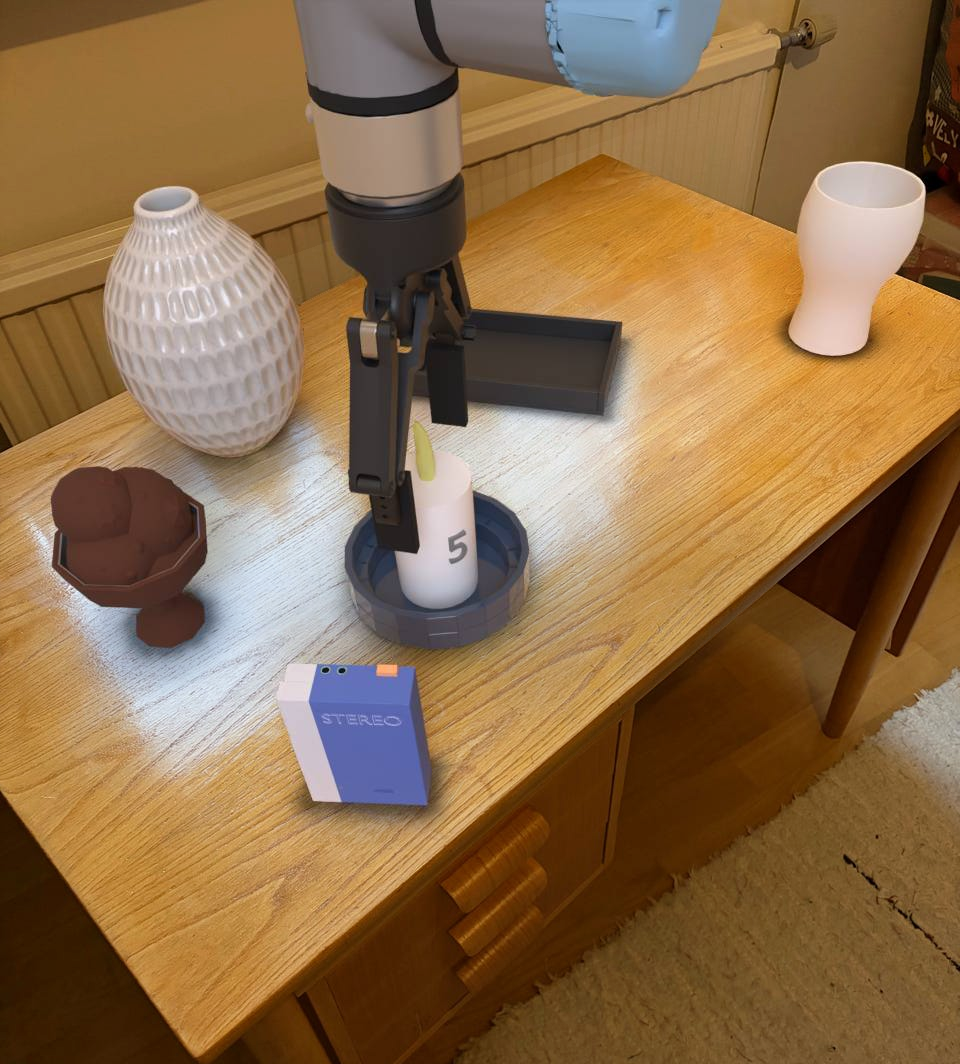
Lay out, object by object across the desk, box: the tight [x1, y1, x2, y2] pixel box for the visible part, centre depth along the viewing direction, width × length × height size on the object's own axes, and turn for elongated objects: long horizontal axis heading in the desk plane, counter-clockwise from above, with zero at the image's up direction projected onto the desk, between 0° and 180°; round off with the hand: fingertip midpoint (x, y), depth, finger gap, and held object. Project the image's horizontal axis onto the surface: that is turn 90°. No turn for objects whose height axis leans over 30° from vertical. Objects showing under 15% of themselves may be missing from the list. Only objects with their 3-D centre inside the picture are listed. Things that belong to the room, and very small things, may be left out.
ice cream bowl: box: [50, 465, 209, 649], centre depth 66 cm, size 11×11×15 cm
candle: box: [395, 420, 478, 609], centre depth 67 cm, size 6×6×15 cm
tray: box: [412, 308, 623, 416], centre depth 90 cm, size 19×12×2 cm, turn 77°
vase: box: [102, 185, 306, 459], centre depth 78 cm, size 16×16×22 cm
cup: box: [787, 161, 927, 357], centre depth 87 cm, size 11×11×15 cm
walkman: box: [275, 662, 433, 806], centre depth 57 cm, size 8×3×12 cm, turn 86°
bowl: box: [343, 489, 531, 651], centre depth 71 cm, size 14×14×4 cm
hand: (426, 481), depth 65 cm, fingers open, 13 cm apart
